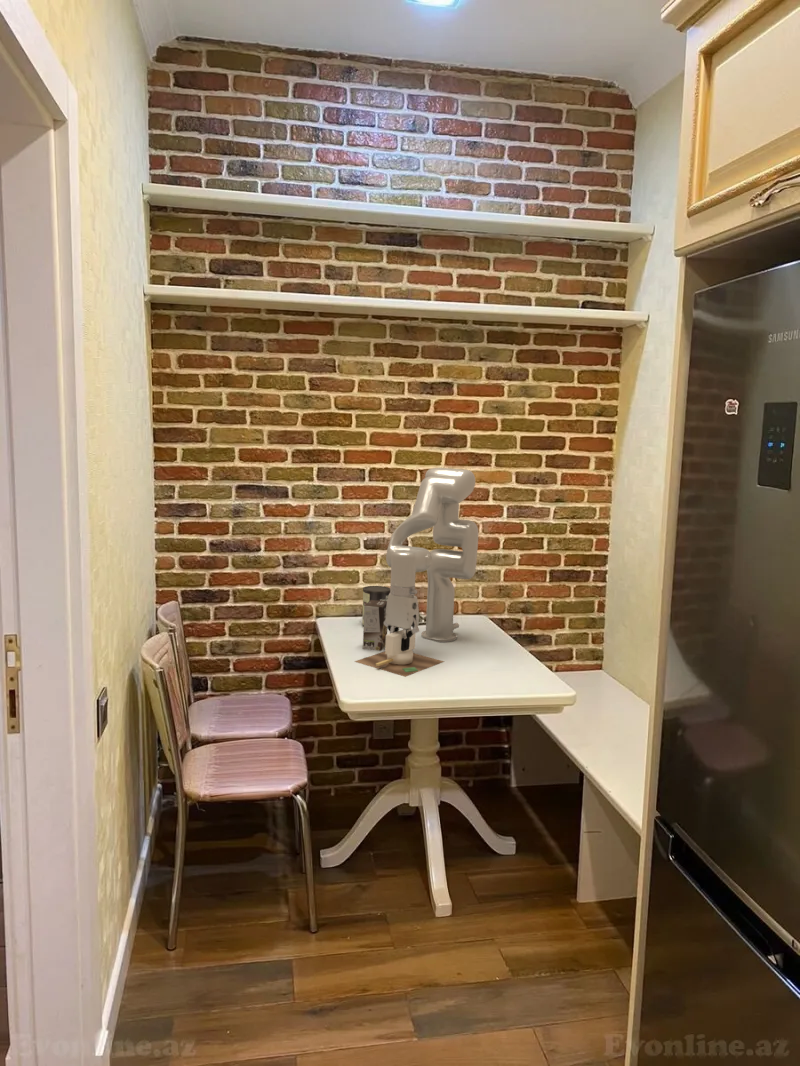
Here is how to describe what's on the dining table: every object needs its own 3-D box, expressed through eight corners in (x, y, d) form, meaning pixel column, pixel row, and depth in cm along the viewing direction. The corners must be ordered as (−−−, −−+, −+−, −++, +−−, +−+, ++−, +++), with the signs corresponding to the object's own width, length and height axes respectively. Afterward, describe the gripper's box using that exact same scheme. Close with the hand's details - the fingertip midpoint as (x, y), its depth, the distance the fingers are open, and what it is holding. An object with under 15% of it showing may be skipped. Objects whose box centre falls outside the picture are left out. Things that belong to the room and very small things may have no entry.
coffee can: (394, 625, 282) (396, 588, 280) (379, 630, 273) (380, 592, 271) (372, 620, 287) (373, 584, 285) (356, 625, 279) (357, 588, 277)
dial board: (394, 652, 248) (394, 647, 248) (444, 666, 236) (444, 660, 236) (354, 666, 233) (354, 660, 232) (405, 681, 220) (405, 676, 220)
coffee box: (381, 655, 244) (383, 606, 242) (362, 653, 246) (363, 605, 243) (387, 647, 253) (389, 600, 251) (368, 645, 254) (370, 599, 252)
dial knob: (400, 653, 241) (401, 626, 239) (420, 659, 236) (422, 631, 234) (366, 665, 228) (367, 636, 227) (387, 671, 223) (388, 642, 222)
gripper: (431, 593, 229) (428, 652, 231) (389, 584, 239) (387, 641, 241) (416, 597, 223) (413, 657, 225) (374, 588, 233) (372, 645, 235)
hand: (400, 648), depth 233 cm, fingers closed on dial knob, 3 cm apart
